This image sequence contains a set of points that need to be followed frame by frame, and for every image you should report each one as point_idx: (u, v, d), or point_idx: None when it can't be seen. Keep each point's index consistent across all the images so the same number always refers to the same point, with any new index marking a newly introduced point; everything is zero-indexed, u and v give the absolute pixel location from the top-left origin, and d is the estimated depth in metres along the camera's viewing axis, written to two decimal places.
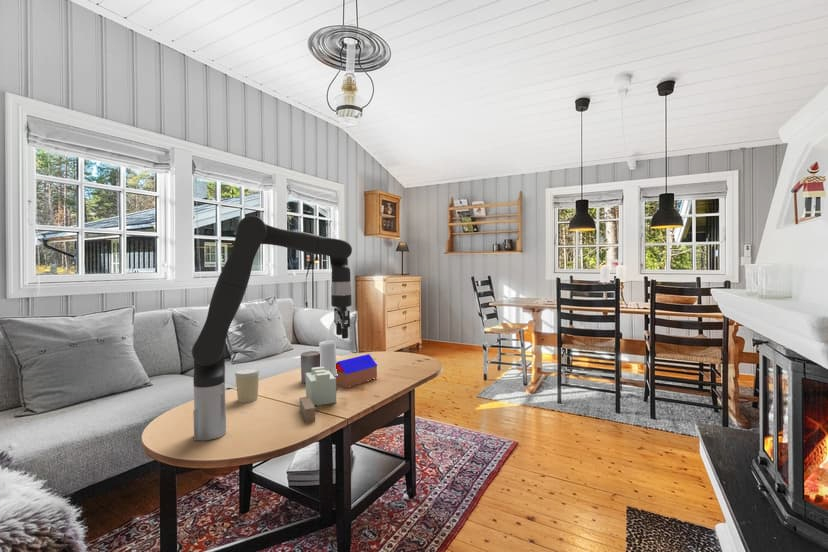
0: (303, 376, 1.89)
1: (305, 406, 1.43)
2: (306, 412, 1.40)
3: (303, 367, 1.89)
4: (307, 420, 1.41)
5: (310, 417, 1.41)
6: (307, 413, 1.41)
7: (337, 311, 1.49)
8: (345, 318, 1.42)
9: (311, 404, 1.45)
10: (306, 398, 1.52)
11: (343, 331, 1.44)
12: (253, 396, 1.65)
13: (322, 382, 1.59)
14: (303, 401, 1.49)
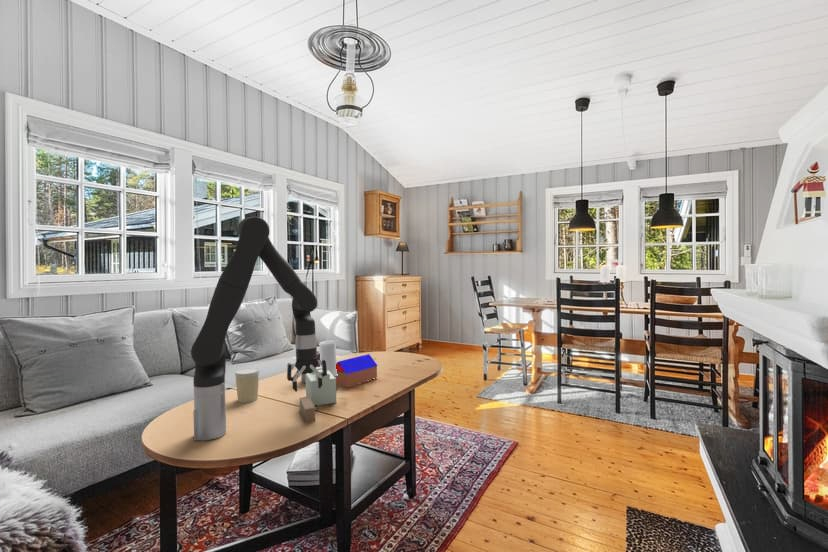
0: (303, 376, 1.89)
1: (305, 406, 1.43)
2: (306, 412, 1.40)
3: None
4: (307, 420, 1.41)
5: (310, 417, 1.41)
6: (307, 413, 1.41)
7: (304, 365, 1.45)
8: None
9: (311, 404, 1.45)
10: (306, 398, 1.52)
11: (321, 380, 1.48)
12: (253, 396, 1.65)
13: (322, 382, 1.59)
14: (303, 401, 1.49)
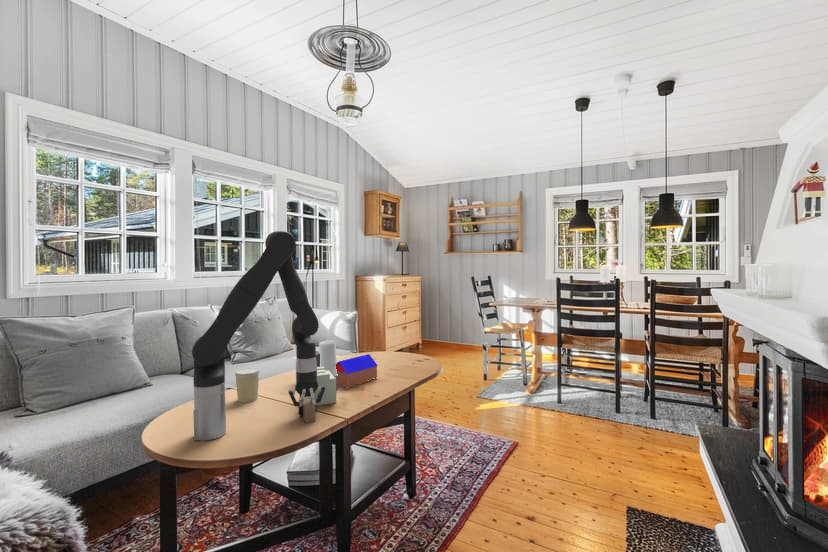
0: None
1: (305, 406, 1.43)
2: (306, 412, 1.40)
3: None
4: (307, 420, 1.40)
5: (310, 417, 1.41)
6: (307, 412, 1.40)
7: (303, 388, 1.45)
8: None
9: (311, 404, 1.45)
10: (306, 398, 1.52)
11: None
12: (253, 396, 1.65)
13: (322, 382, 1.59)
14: (303, 401, 1.48)
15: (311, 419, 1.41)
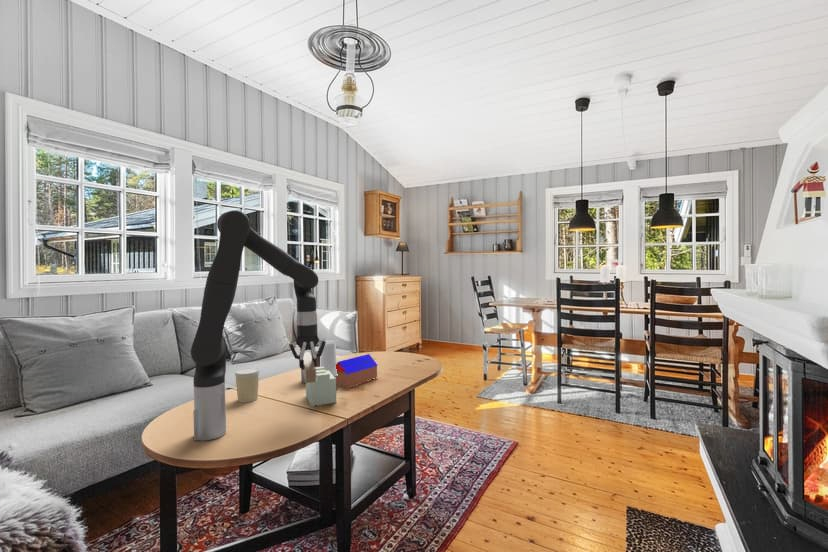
0: (303, 376, 1.89)
1: (306, 366, 1.43)
2: (307, 373, 1.41)
3: None
4: (307, 380, 1.42)
5: (311, 378, 1.42)
6: (308, 374, 1.41)
7: (304, 341, 1.46)
8: None
9: (312, 364, 1.45)
10: (307, 354, 1.52)
11: (315, 361, 1.49)
12: (253, 396, 1.65)
13: (322, 382, 1.59)
14: (304, 358, 1.49)
15: (311, 380, 1.43)
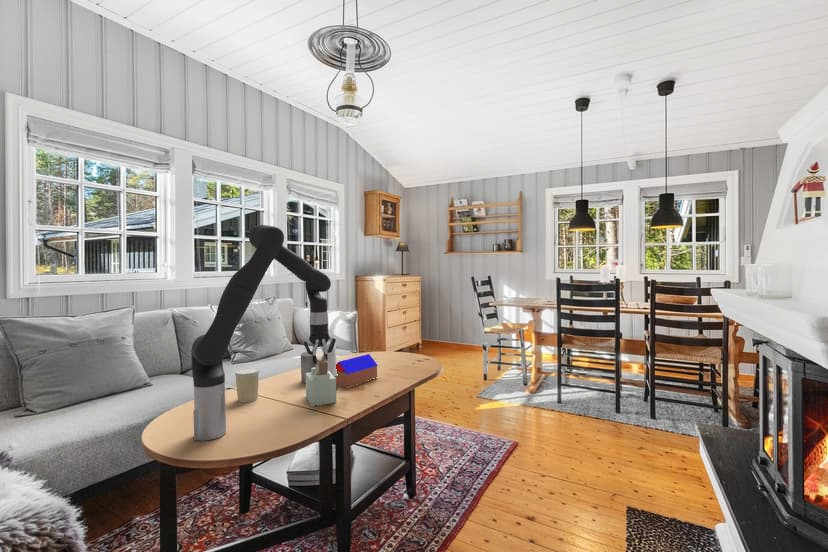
0: (303, 376, 1.89)
1: (319, 360, 1.60)
2: (320, 366, 1.58)
3: (303, 367, 1.89)
4: (320, 372, 1.59)
5: (323, 370, 1.59)
6: (321, 366, 1.58)
7: (316, 339, 1.63)
8: None
9: (324, 358, 1.62)
10: (319, 350, 1.69)
11: (326, 356, 1.66)
12: (253, 396, 1.65)
13: (322, 382, 1.59)
14: (316, 354, 1.66)
15: (324, 372, 1.59)
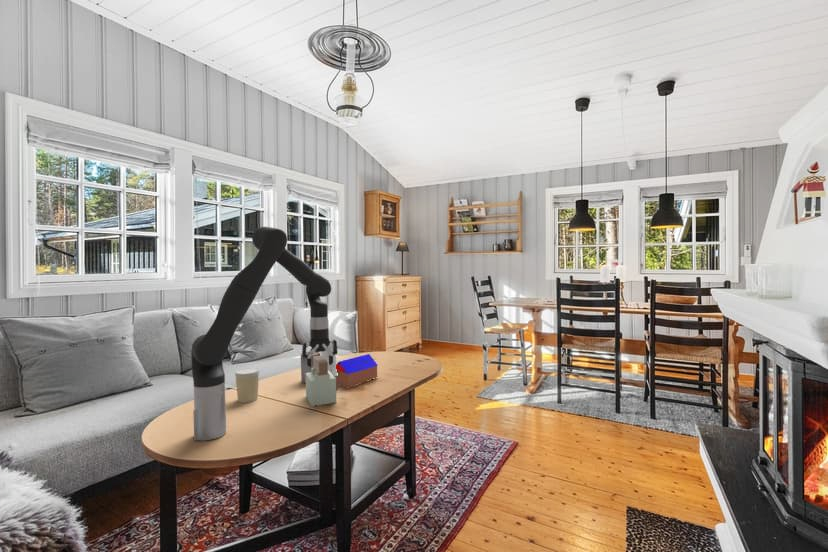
0: (303, 376, 1.89)
1: (318, 361, 1.61)
2: (320, 366, 1.58)
3: (303, 367, 1.89)
4: (321, 373, 1.58)
5: (323, 370, 1.58)
6: (321, 366, 1.58)
7: (317, 344, 1.63)
8: None
9: (324, 360, 1.63)
10: (318, 356, 1.70)
11: (332, 358, 1.66)
12: (253, 396, 1.65)
13: (322, 382, 1.59)
14: (316, 358, 1.66)
15: (324, 372, 1.59)
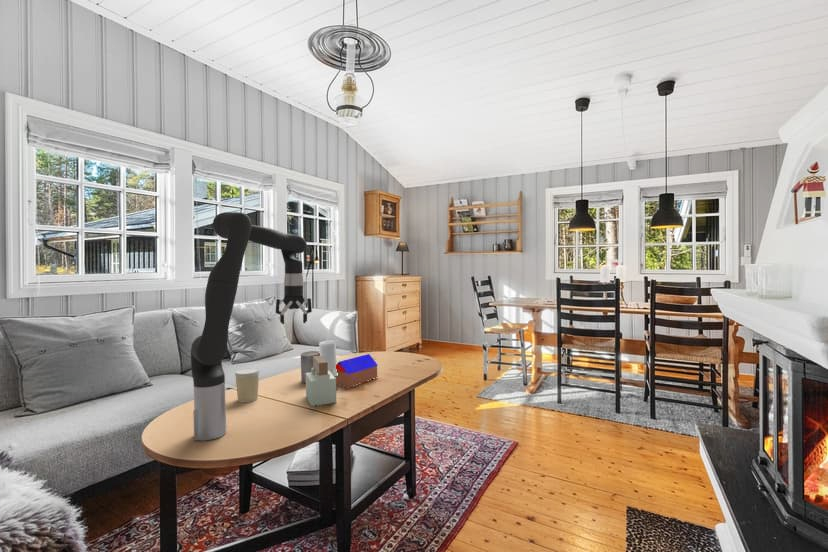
0: (303, 376, 1.89)
1: (318, 361, 1.61)
2: (320, 366, 1.58)
3: (303, 367, 1.89)
4: (321, 373, 1.58)
5: (323, 370, 1.58)
6: (321, 366, 1.58)
7: (291, 300, 1.62)
8: None
9: (324, 360, 1.63)
10: (318, 356, 1.70)
11: (306, 316, 1.65)
12: (253, 396, 1.65)
13: (322, 382, 1.59)
14: (316, 358, 1.66)
15: (324, 372, 1.59)
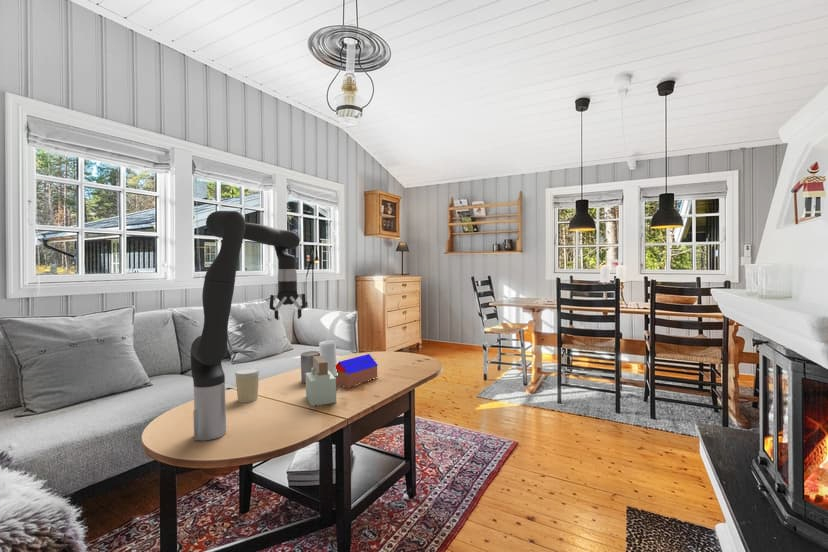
0: (303, 376, 1.89)
1: (318, 361, 1.61)
2: (320, 366, 1.58)
3: (303, 367, 1.89)
4: (321, 373, 1.58)
5: (323, 370, 1.58)
6: (321, 366, 1.58)
7: (285, 296, 1.62)
8: (305, 300, 1.66)
9: (324, 360, 1.63)
10: (318, 356, 1.70)
11: (300, 312, 1.65)
12: (253, 396, 1.65)
13: (322, 382, 1.59)
14: (316, 358, 1.66)
15: (324, 372, 1.59)
